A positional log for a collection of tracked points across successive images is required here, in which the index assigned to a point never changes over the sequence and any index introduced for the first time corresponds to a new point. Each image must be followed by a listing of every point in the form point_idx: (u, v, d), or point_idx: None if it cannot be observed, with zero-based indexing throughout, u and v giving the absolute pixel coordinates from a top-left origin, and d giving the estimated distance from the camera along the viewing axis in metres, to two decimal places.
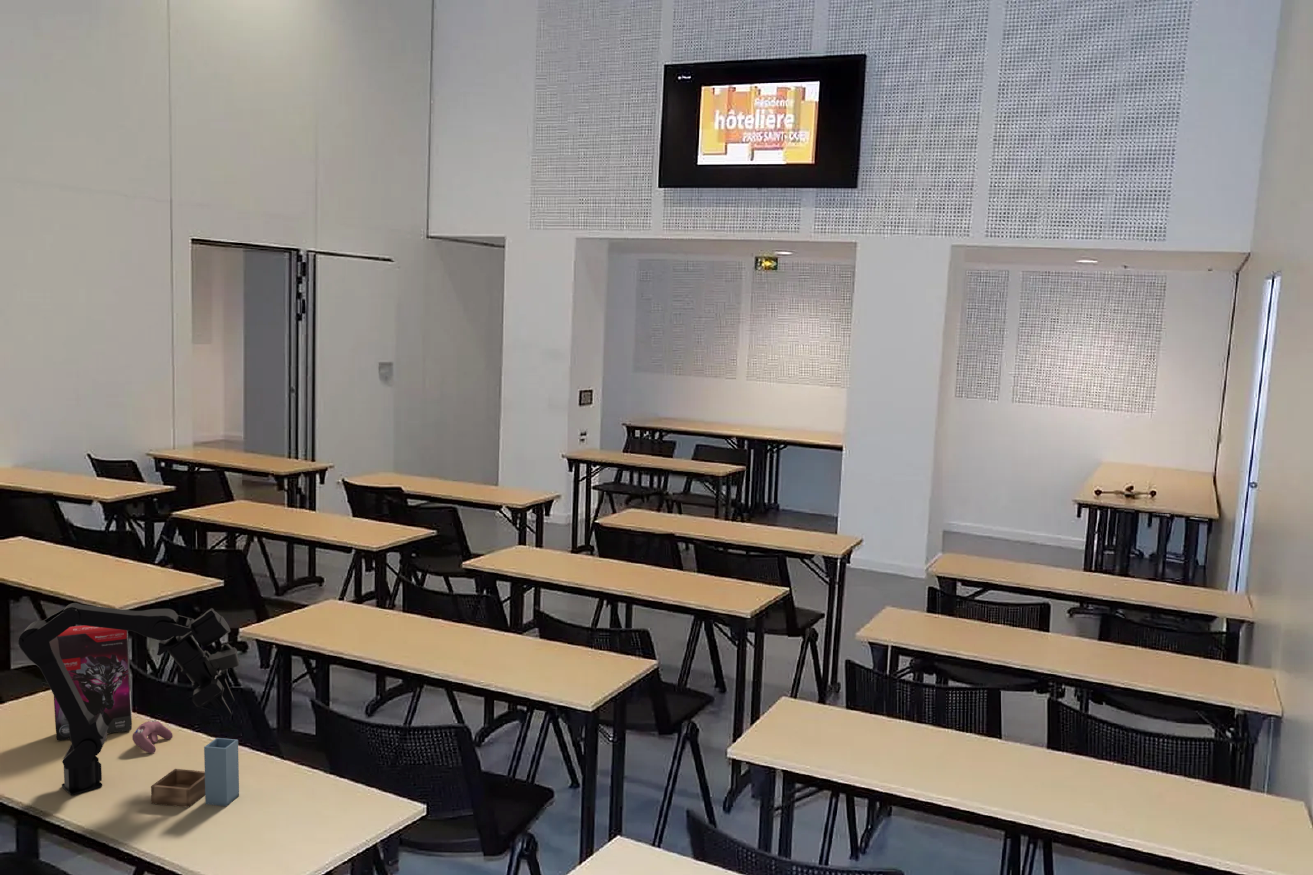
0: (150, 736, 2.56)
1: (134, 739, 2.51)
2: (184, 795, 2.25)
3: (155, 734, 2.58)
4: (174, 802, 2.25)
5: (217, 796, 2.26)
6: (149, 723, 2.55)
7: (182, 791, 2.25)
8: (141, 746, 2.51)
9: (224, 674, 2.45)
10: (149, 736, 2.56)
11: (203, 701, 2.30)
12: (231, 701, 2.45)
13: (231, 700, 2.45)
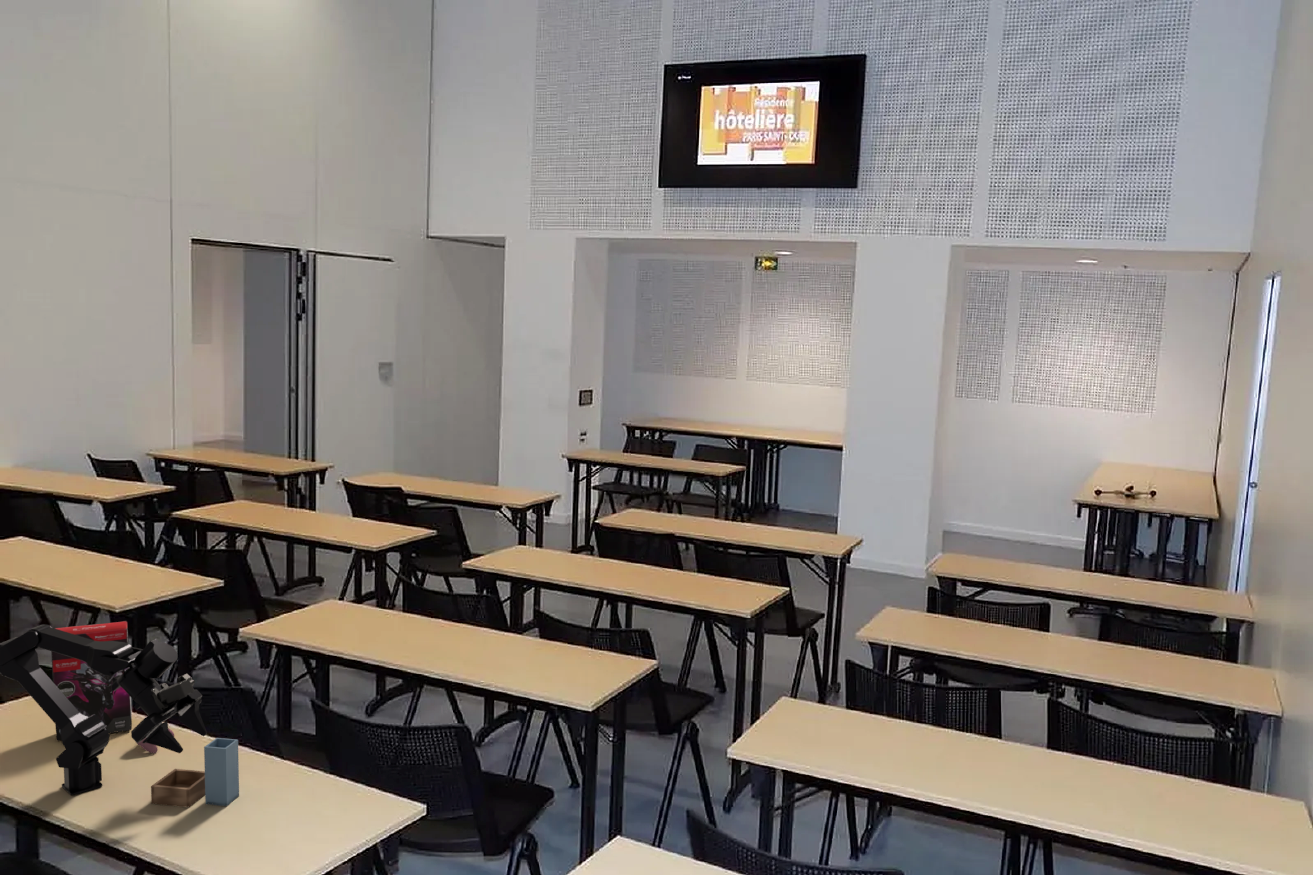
0: None
1: None
2: (184, 795, 2.25)
3: None
4: (174, 802, 2.25)
5: (217, 796, 2.26)
6: None
7: (182, 791, 2.25)
8: (143, 746, 2.51)
9: (193, 706, 2.33)
10: None
11: (140, 737, 2.19)
12: (203, 734, 2.32)
13: (203, 733, 2.32)
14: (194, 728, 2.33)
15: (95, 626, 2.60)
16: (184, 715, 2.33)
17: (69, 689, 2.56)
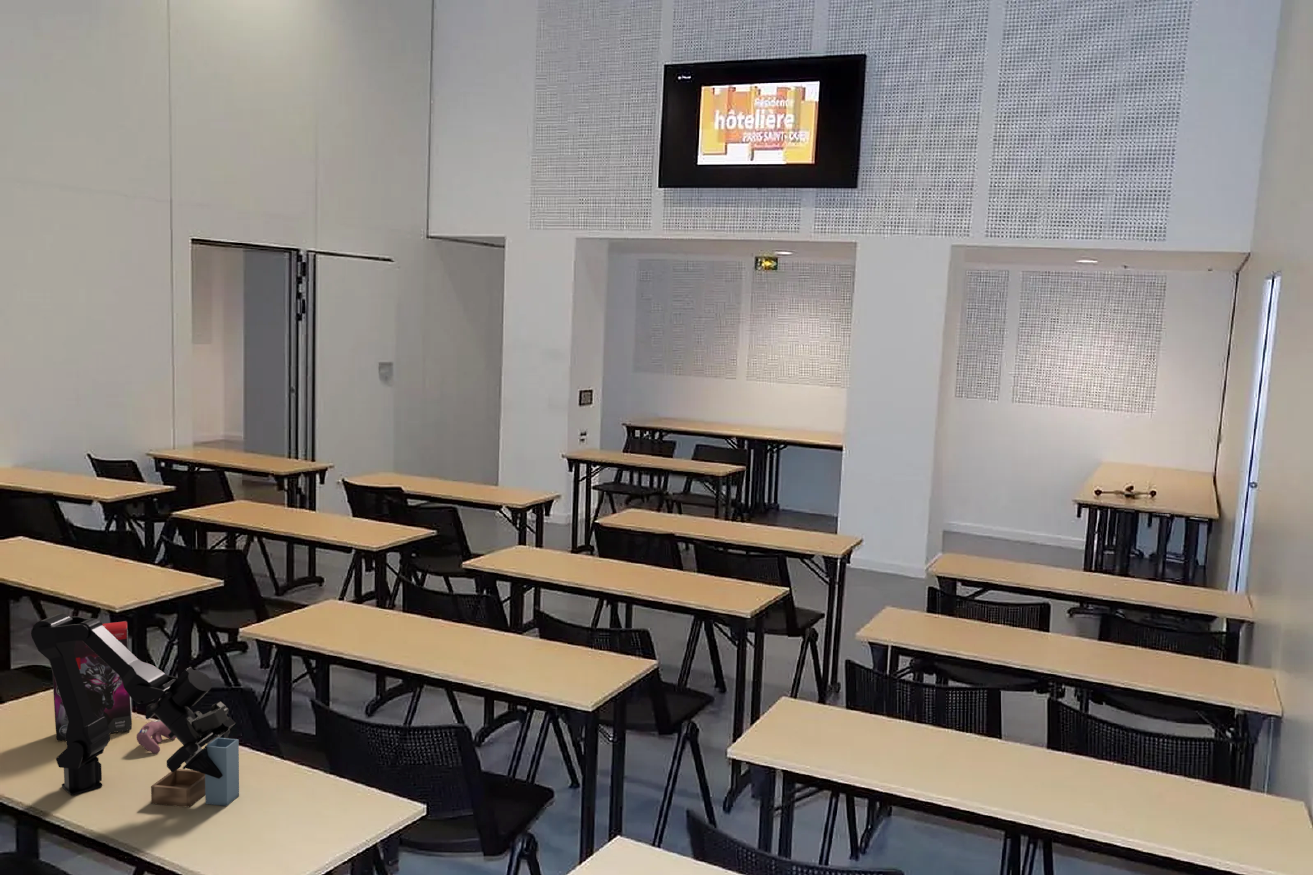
0: (154, 736, 2.56)
1: (138, 739, 2.51)
2: (184, 795, 2.25)
3: (159, 734, 2.58)
4: (174, 802, 2.25)
5: (217, 796, 2.26)
6: (153, 723, 2.55)
7: (182, 791, 2.25)
8: (145, 746, 2.51)
9: (222, 737, 2.30)
10: (153, 736, 2.56)
11: (175, 767, 2.19)
12: None
13: None
14: None
15: None
16: None
17: None
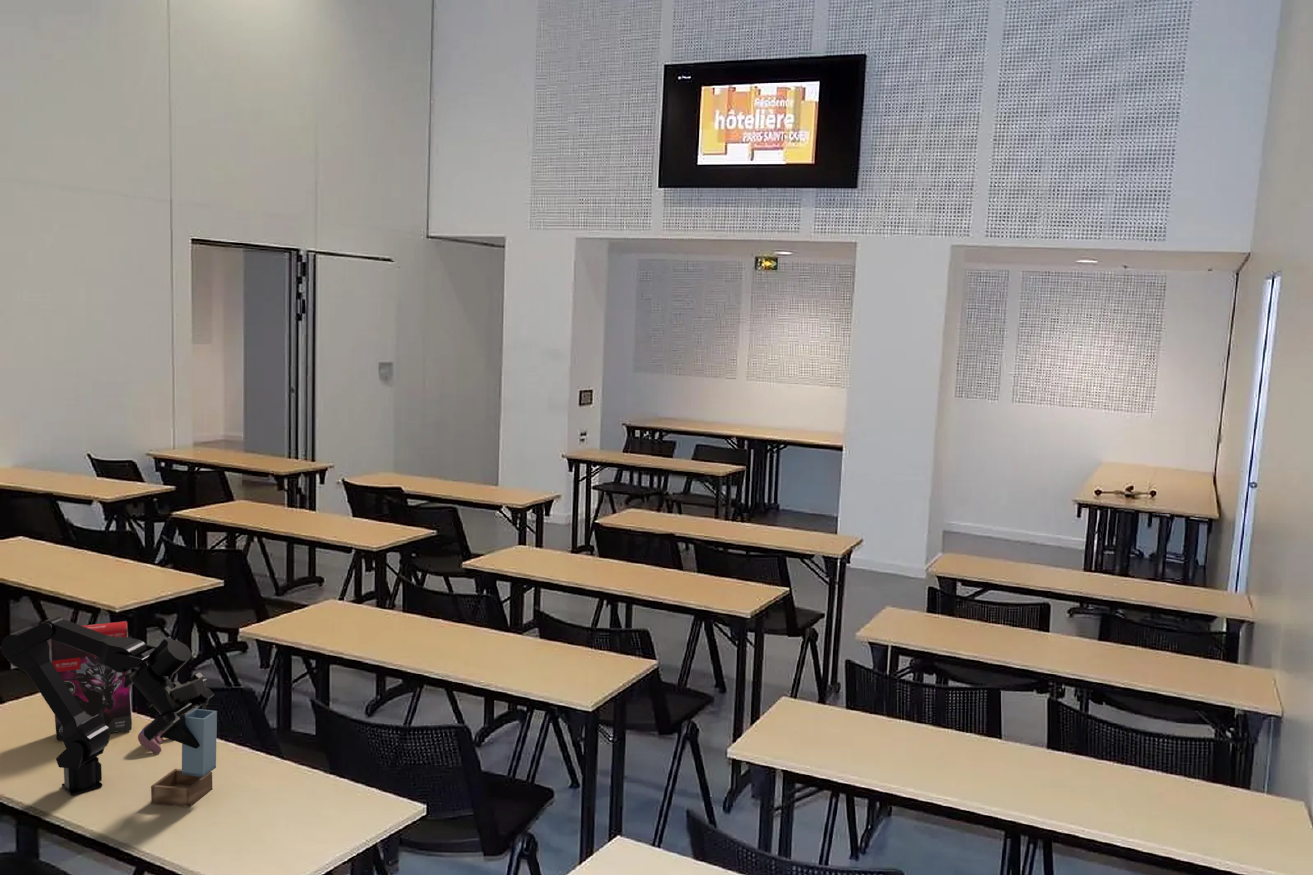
0: None
1: (140, 739, 2.51)
2: (184, 795, 2.25)
3: (160, 734, 2.58)
4: (174, 802, 2.25)
5: (193, 767, 2.26)
6: None
7: (182, 791, 2.25)
8: (147, 746, 2.50)
9: (200, 707, 2.30)
10: None
11: (152, 735, 2.19)
12: None
13: None
14: None
15: (95, 626, 2.60)
16: None
17: (69, 689, 2.56)
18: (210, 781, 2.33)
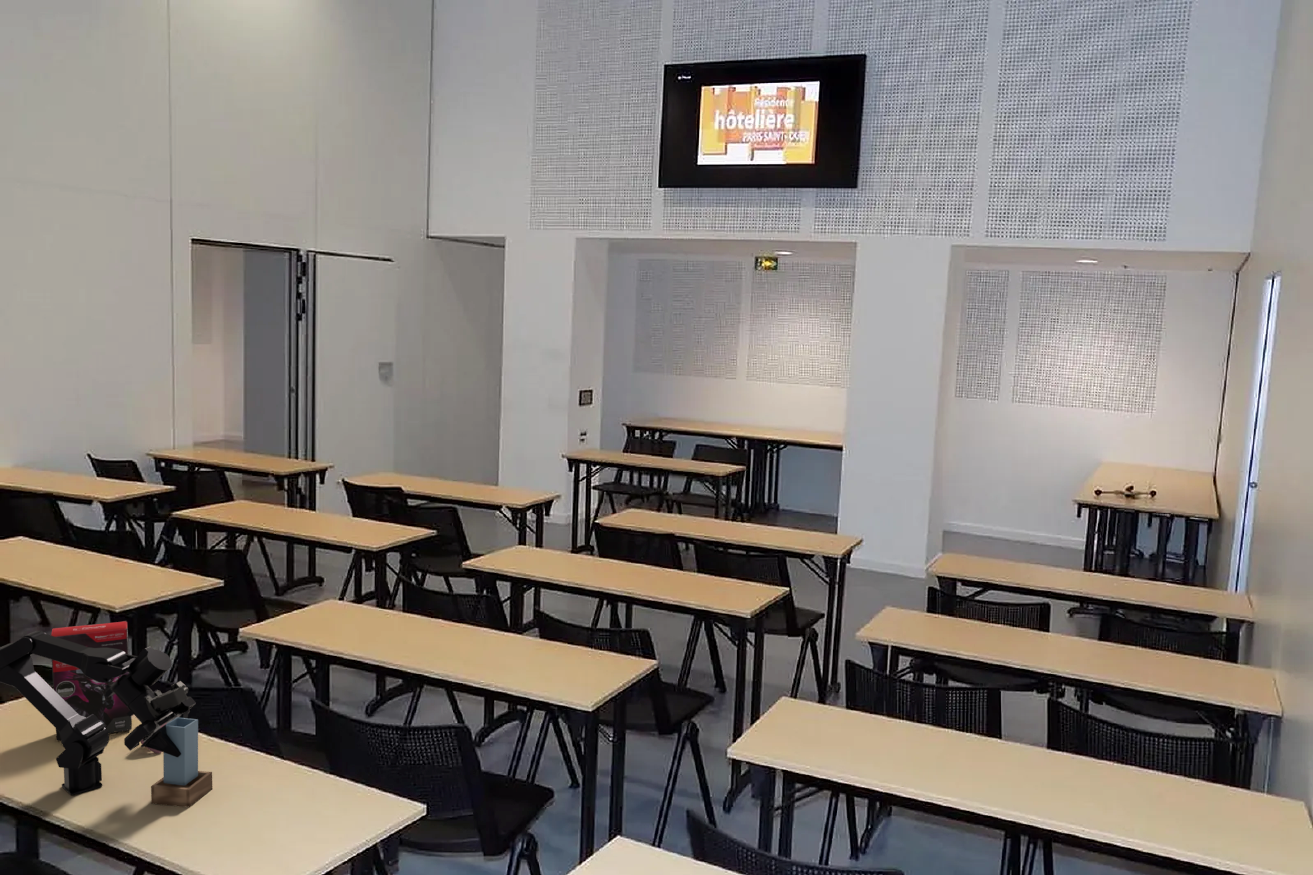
0: None
1: None
2: (184, 795, 2.25)
3: None
4: (174, 802, 2.25)
5: (175, 775, 2.26)
6: None
7: (182, 791, 2.25)
8: None
9: (181, 716, 2.31)
10: None
11: (133, 745, 2.19)
12: None
13: None
14: None
15: (95, 626, 2.60)
16: None
17: (69, 689, 2.56)
18: (210, 781, 2.33)
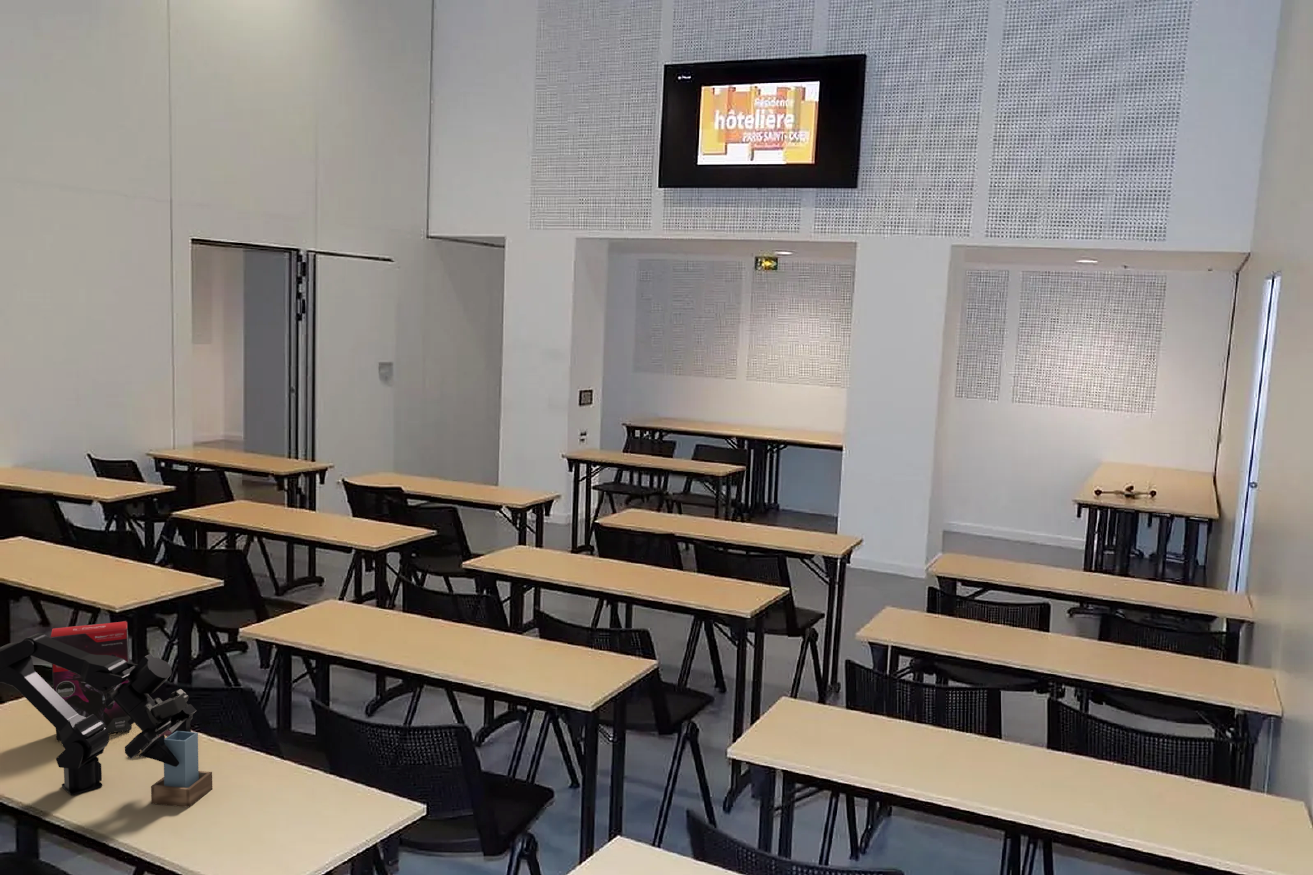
0: None
1: None
2: (184, 795, 2.25)
3: (162, 734, 2.58)
4: (174, 802, 2.25)
5: None
6: None
7: (182, 791, 2.25)
8: None
9: (184, 722, 2.32)
10: None
11: (133, 753, 2.20)
12: None
13: None
14: None
15: (95, 626, 2.60)
16: None
17: (69, 689, 2.56)
18: (210, 781, 2.33)
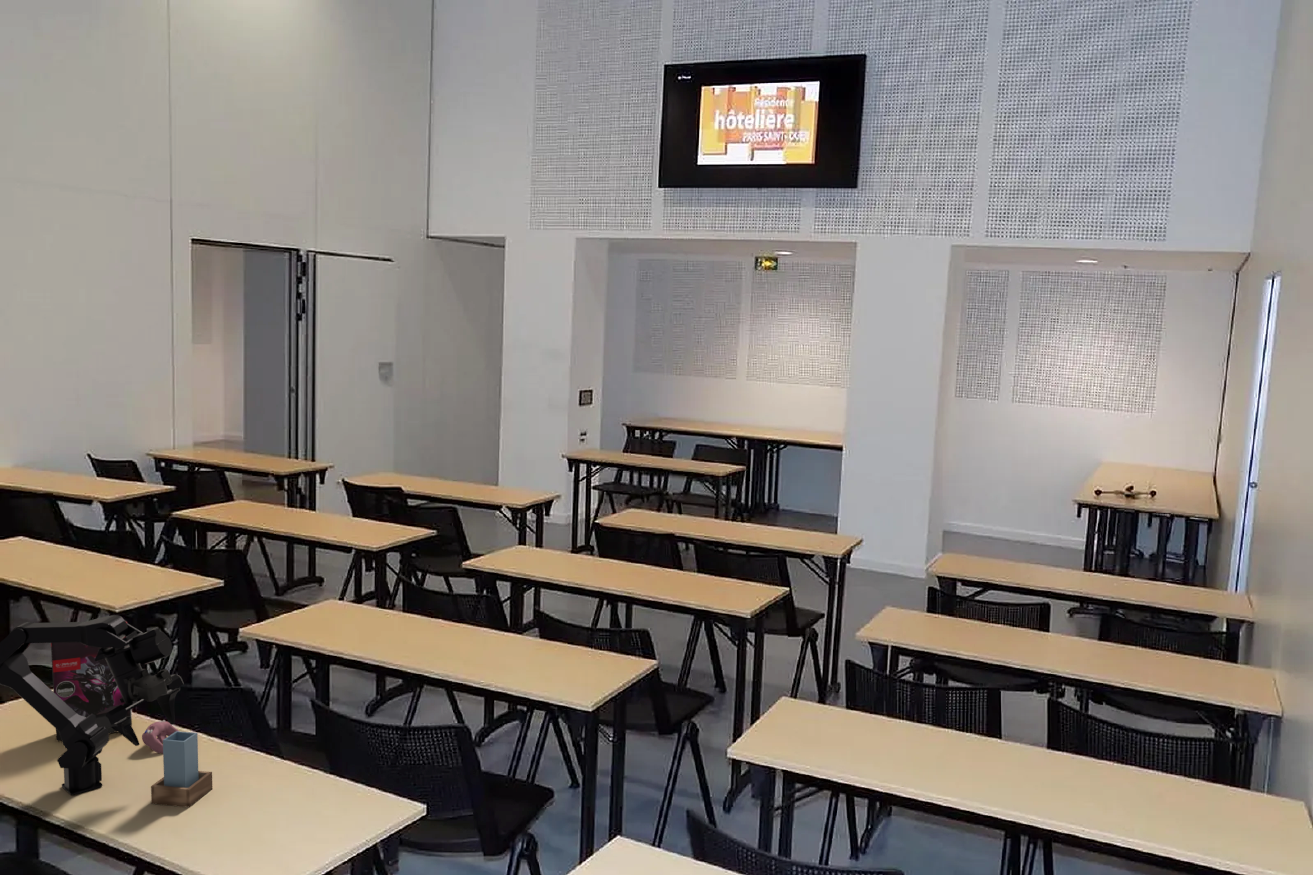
0: (159, 736, 2.56)
1: (144, 739, 2.51)
2: (184, 795, 2.25)
3: (164, 734, 2.58)
4: (174, 802, 2.25)
5: None
6: (158, 723, 2.55)
7: (182, 791, 2.25)
8: (151, 746, 2.51)
9: (168, 695, 2.34)
10: (158, 736, 2.56)
11: (100, 725, 2.23)
12: (171, 723, 2.35)
13: (171, 722, 2.35)
14: (165, 713, 2.36)
15: None
16: (160, 697, 2.36)
17: (69, 689, 2.56)
18: (210, 781, 2.33)
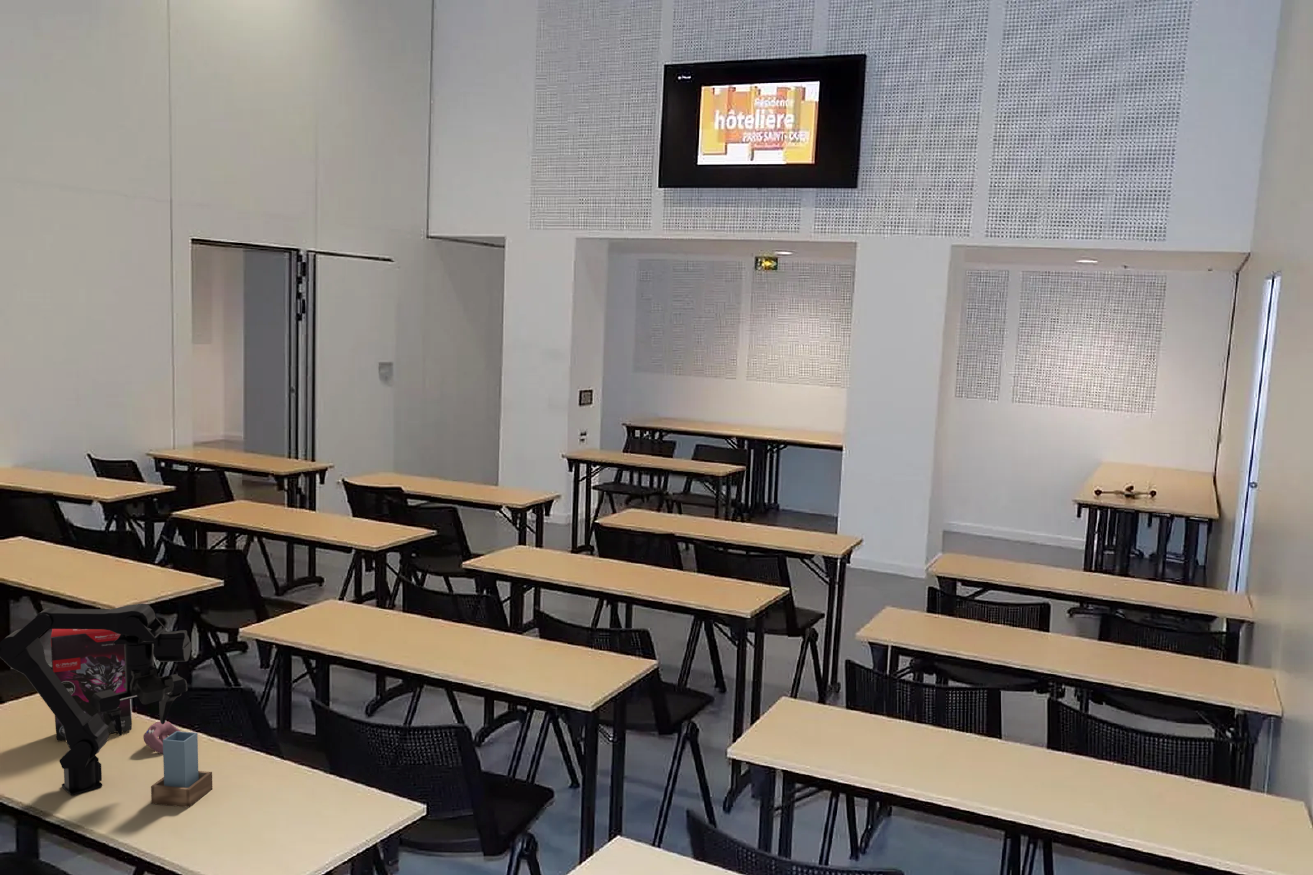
0: (161, 736, 2.56)
1: (145, 739, 2.51)
2: (184, 795, 2.25)
3: (165, 734, 2.58)
4: (174, 802, 2.25)
5: None
6: (160, 723, 2.55)
7: (182, 791, 2.25)
8: (152, 746, 2.50)
9: (168, 697, 2.35)
10: (159, 736, 2.56)
11: (93, 705, 2.26)
12: (161, 722, 2.36)
13: (161, 721, 2.36)
14: (160, 710, 2.37)
15: None
16: None
17: (69, 689, 2.56)
18: (210, 781, 2.33)
